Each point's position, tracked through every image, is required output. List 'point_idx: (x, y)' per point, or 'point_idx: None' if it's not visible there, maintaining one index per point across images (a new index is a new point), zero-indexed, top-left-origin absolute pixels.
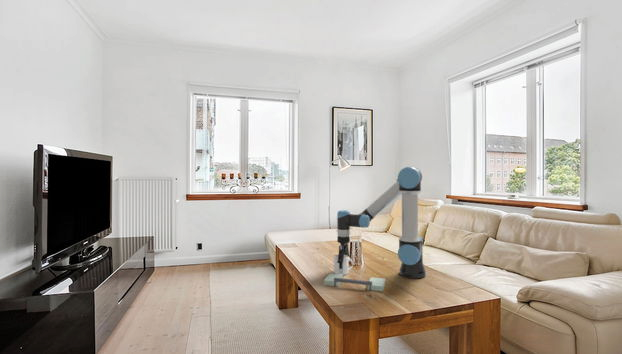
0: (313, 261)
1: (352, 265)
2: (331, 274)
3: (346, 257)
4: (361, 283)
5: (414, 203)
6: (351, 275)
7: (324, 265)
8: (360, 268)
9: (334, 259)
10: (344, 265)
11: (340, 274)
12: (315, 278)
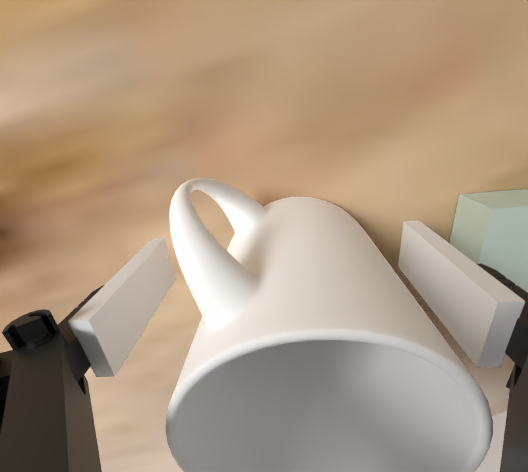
0: (124, 467)
1: (200, 181)
2: None
3: (411, 342)
4: None
5: None
6: (325, 142)
7: (161, 406)
8: (34, 117)
9: (383, 452)
10: (388, 265)
11: (495, 237)
12: (477, 383)
